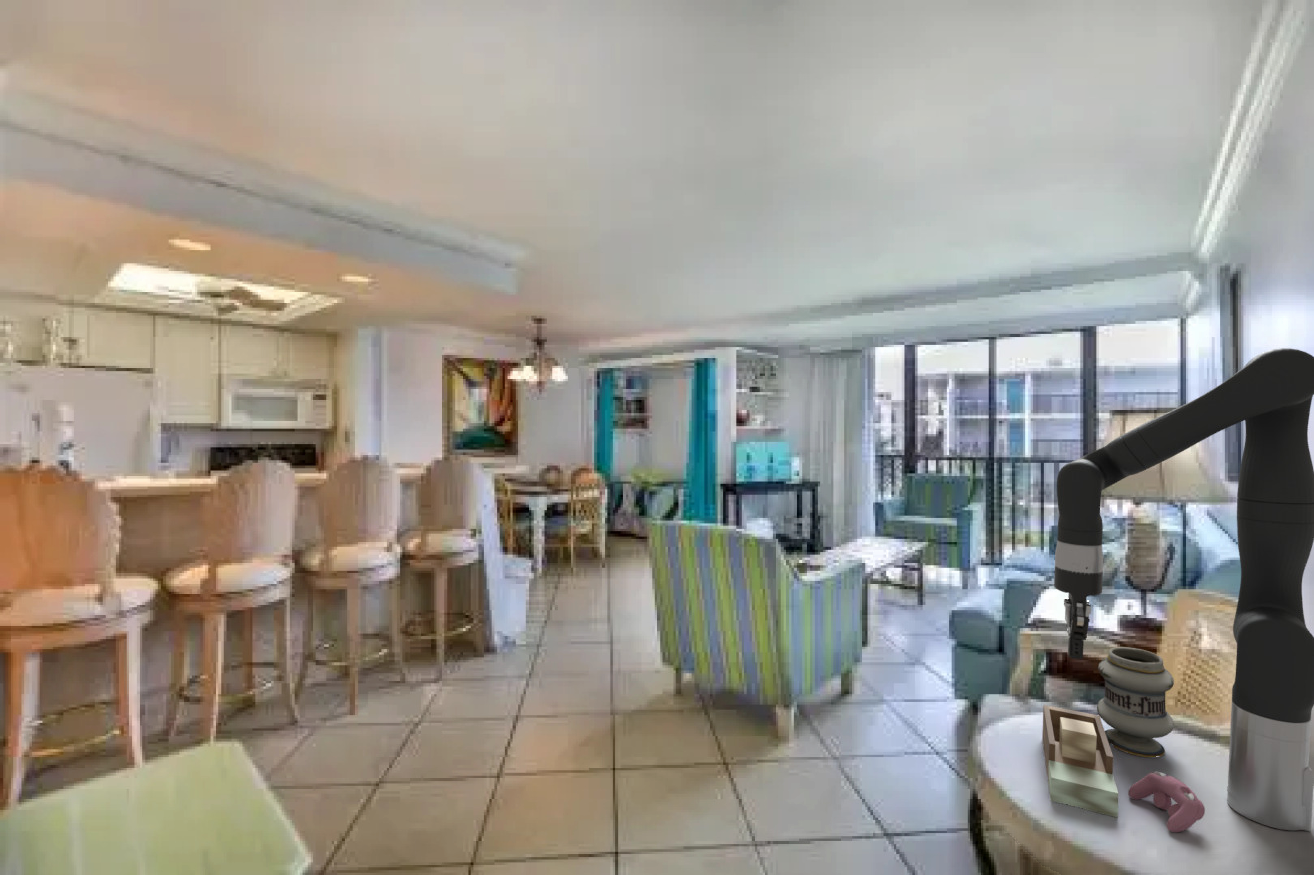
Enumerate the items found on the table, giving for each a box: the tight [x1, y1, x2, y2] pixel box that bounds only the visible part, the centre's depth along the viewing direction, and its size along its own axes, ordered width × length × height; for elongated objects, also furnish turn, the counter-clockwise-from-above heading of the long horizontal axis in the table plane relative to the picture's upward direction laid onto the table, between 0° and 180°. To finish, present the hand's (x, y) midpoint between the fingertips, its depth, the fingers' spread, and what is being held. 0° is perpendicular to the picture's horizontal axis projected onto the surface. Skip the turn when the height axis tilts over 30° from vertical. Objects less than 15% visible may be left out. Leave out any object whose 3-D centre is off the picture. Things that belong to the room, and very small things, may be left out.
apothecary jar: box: [1096, 646, 1175, 758], centre depth 124 cm, size 12×12×18 cm
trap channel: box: [1041, 704, 1119, 818], centre depth 114 cm, size 9×22×7 cm, turn 152°
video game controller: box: [1127, 770, 1206, 833], centre depth 103 cm, size 10×5×7 cm, turn 179°
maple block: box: [1059, 717, 1097, 764], centre depth 114 cm, size 5×5×5 cm
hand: (1075, 656), depth 120 cm, fingers closed
